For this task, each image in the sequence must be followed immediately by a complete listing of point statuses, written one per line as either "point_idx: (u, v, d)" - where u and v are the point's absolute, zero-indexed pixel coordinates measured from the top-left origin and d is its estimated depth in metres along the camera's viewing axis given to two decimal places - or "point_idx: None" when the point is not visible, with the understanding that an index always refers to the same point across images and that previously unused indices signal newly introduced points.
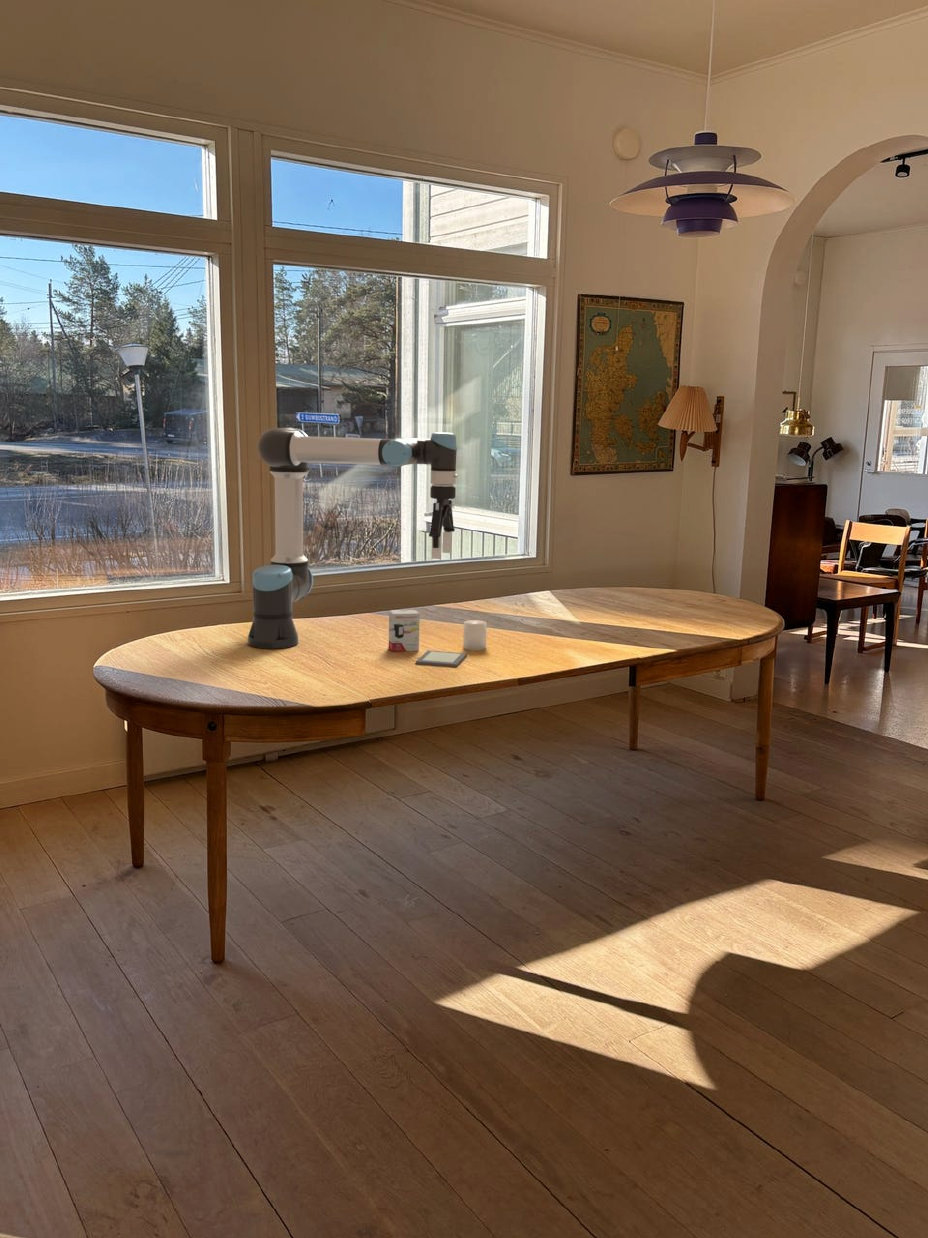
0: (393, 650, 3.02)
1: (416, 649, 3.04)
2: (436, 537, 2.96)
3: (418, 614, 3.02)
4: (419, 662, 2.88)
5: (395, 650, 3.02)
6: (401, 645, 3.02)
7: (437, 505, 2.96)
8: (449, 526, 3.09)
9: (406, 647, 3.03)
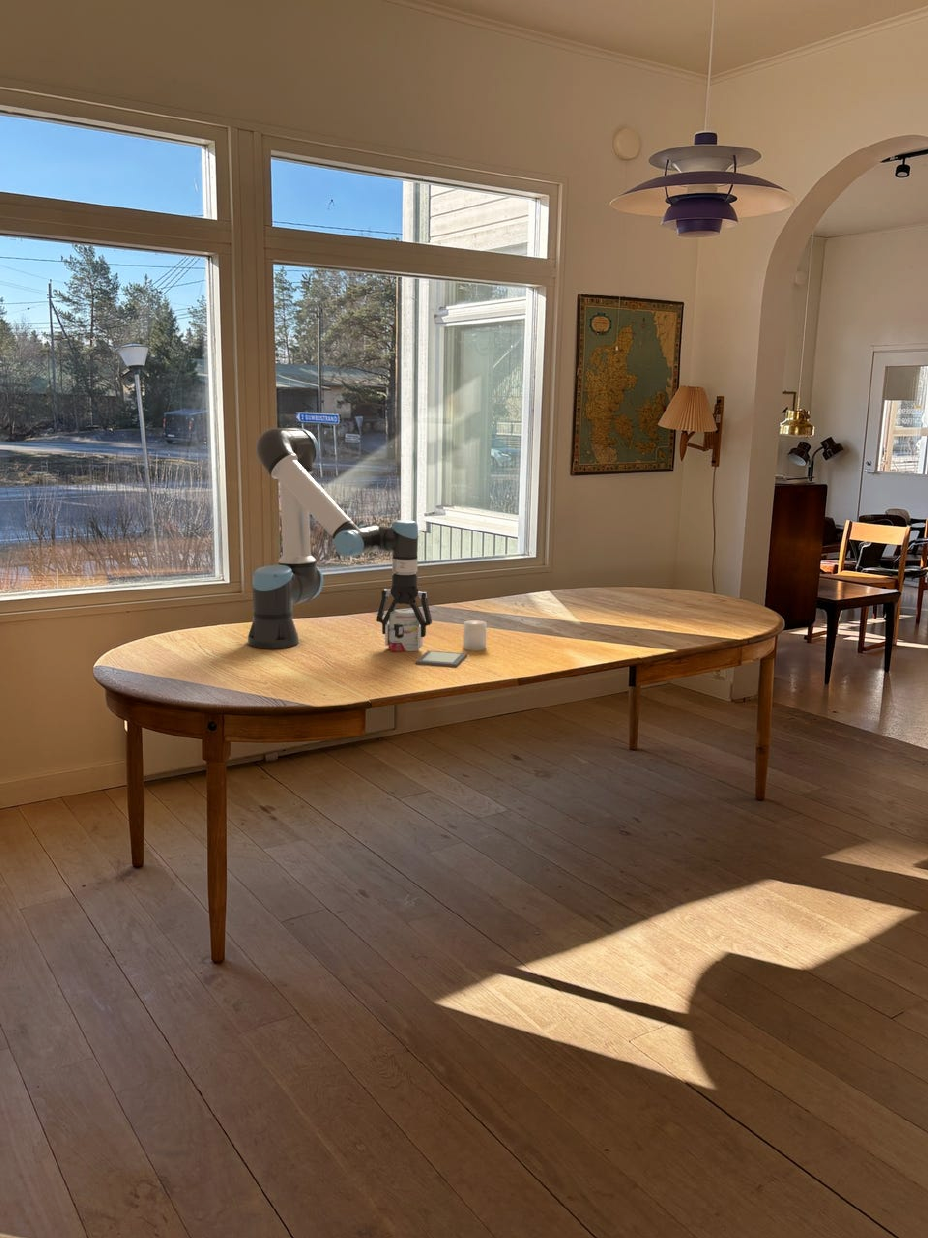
0: (393, 650, 3.02)
1: (416, 649, 3.04)
2: None
3: None
4: (419, 662, 2.88)
5: (395, 650, 3.02)
6: (401, 644, 3.02)
7: None
8: None
9: (406, 647, 3.03)
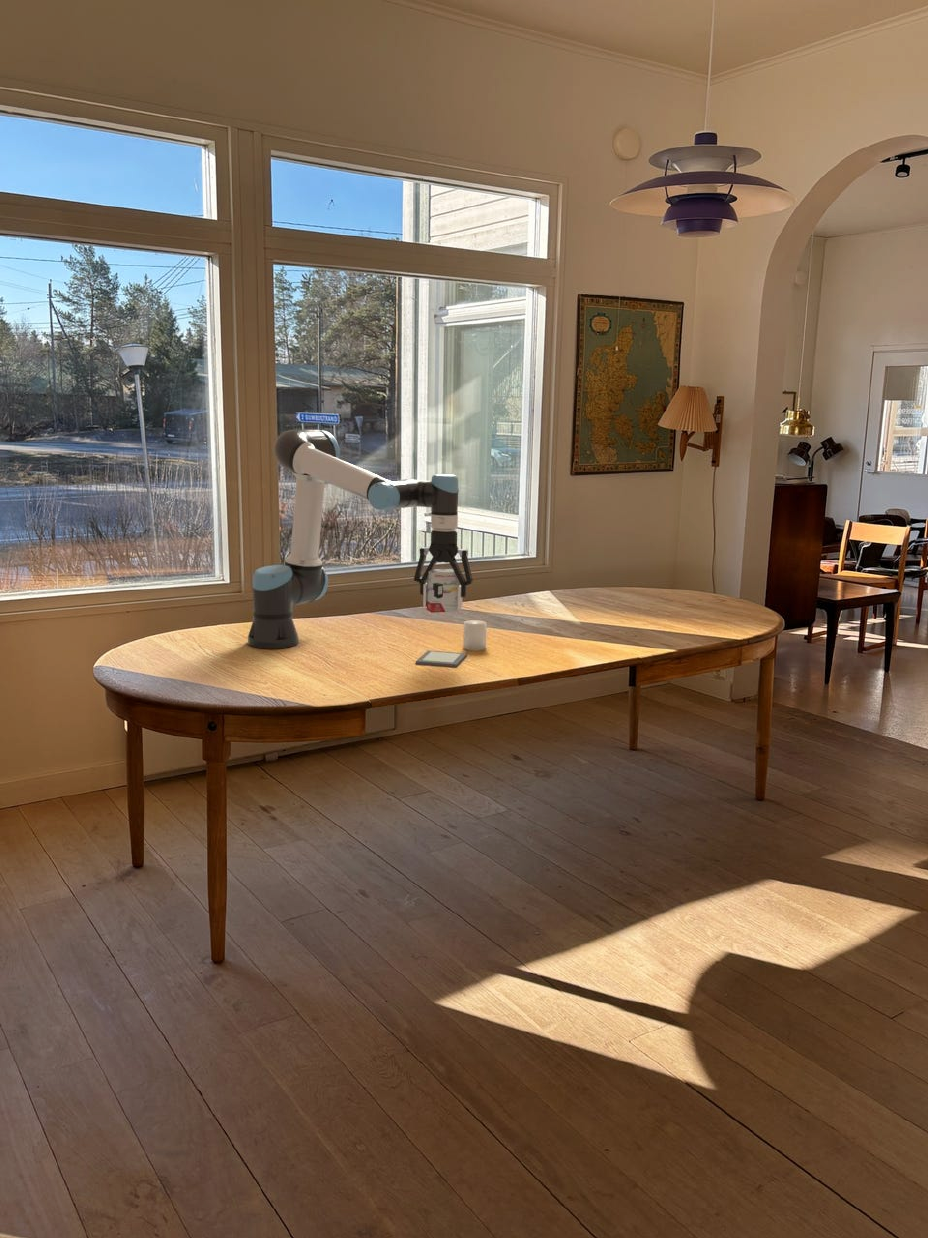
0: (432, 611, 2.87)
1: (456, 610, 2.89)
2: None
3: None
4: (419, 662, 2.88)
5: (434, 611, 2.88)
6: (440, 605, 2.88)
7: None
8: None
9: (445, 608, 2.88)
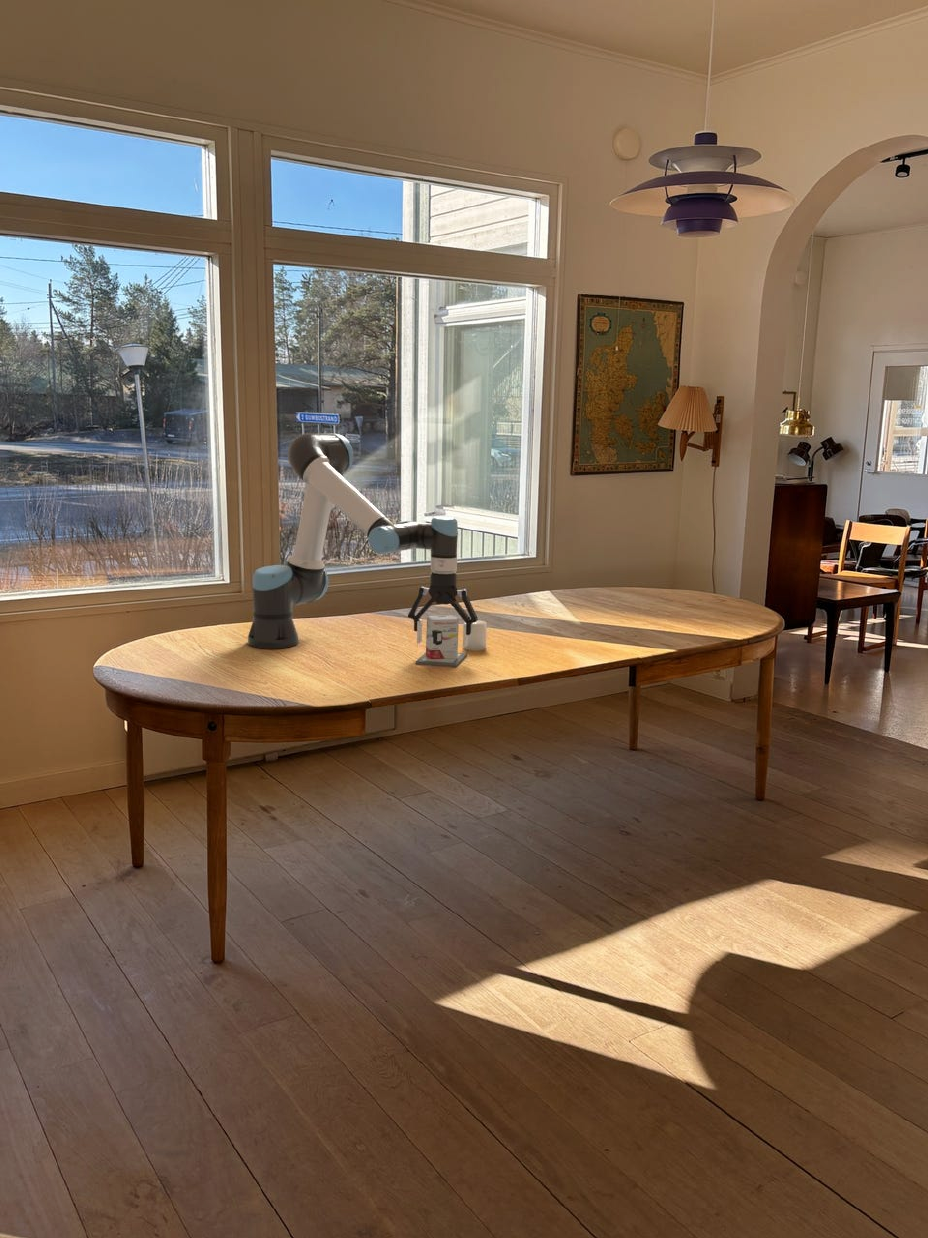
0: (431, 657, 2.90)
1: (455, 656, 2.92)
2: None
3: (457, 620, 2.90)
4: (419, 662, 2.88)
5: (433, 657, 2.90)
6: (439, 652, 2.90)
7: None
8: None
9: (444, 655, 2.91)
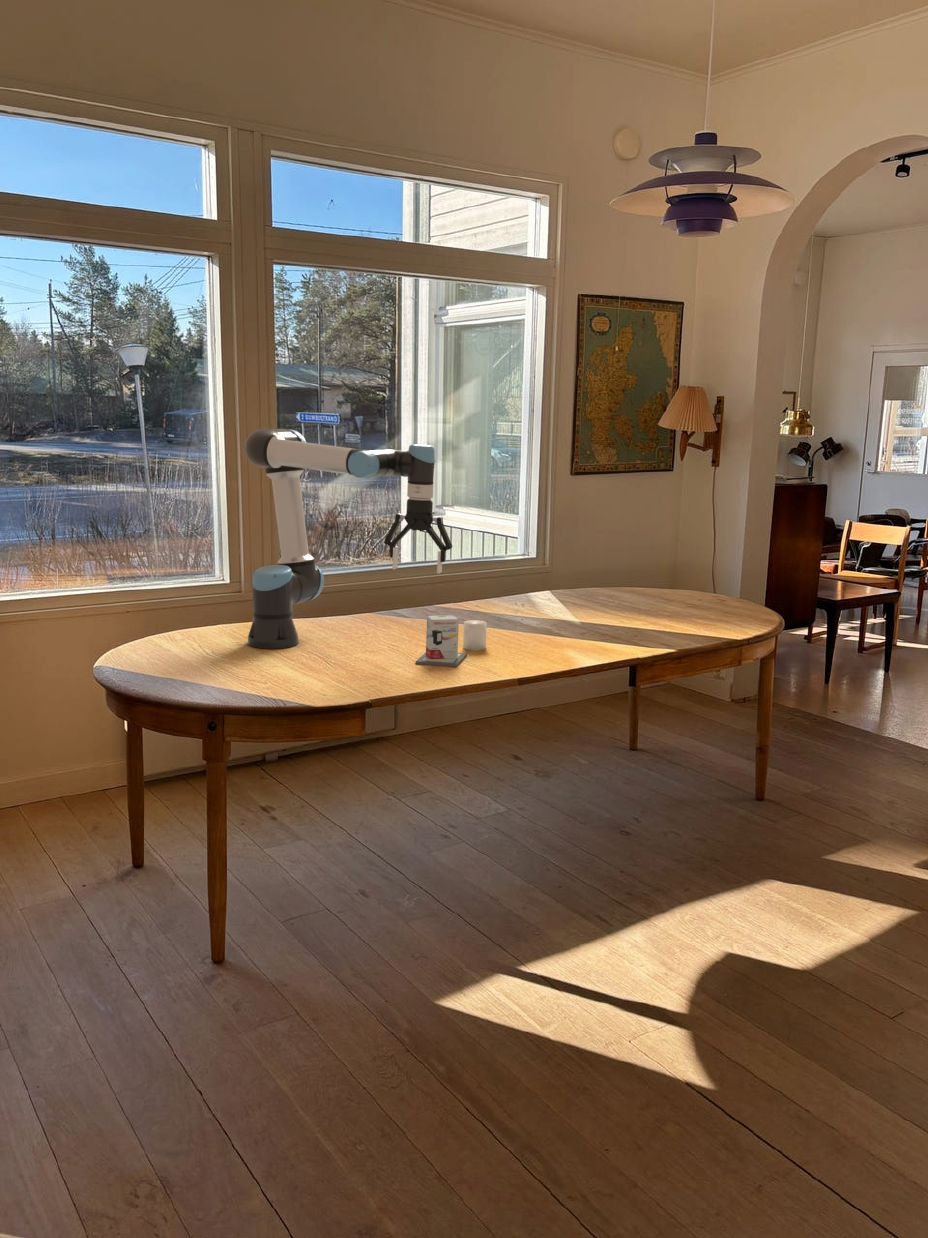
0: (431, 657, 2.90)
1: (455, 656, 2.92)
2: None
3: (457, 620, 2.90)
4: (419, 662, 2.88)
5: (433, 657, 2.90)
6: (439, 652, 2.90)
7: None
8: None
9: (444, 655, 2.91)
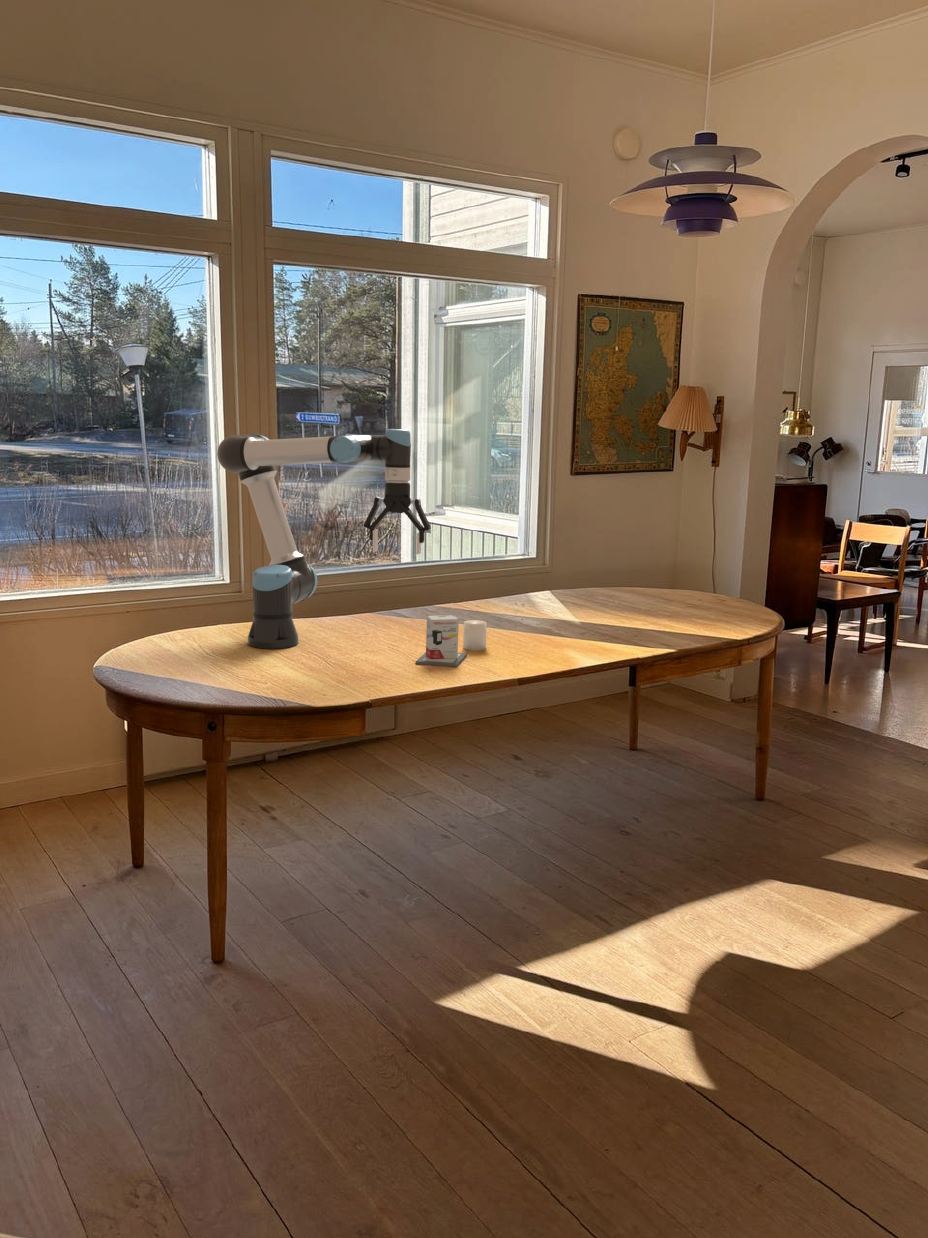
0: (431, 657, 2.90)
1: (455, 656, 2.92)
2: None
3: (457, 620, 2.90)
4: (419, 662, 2.88)
5: (433, 657, 2.90)
6: (439, 652, 2.90)
7: None
8: None
9: (444, 655, 2.91)
